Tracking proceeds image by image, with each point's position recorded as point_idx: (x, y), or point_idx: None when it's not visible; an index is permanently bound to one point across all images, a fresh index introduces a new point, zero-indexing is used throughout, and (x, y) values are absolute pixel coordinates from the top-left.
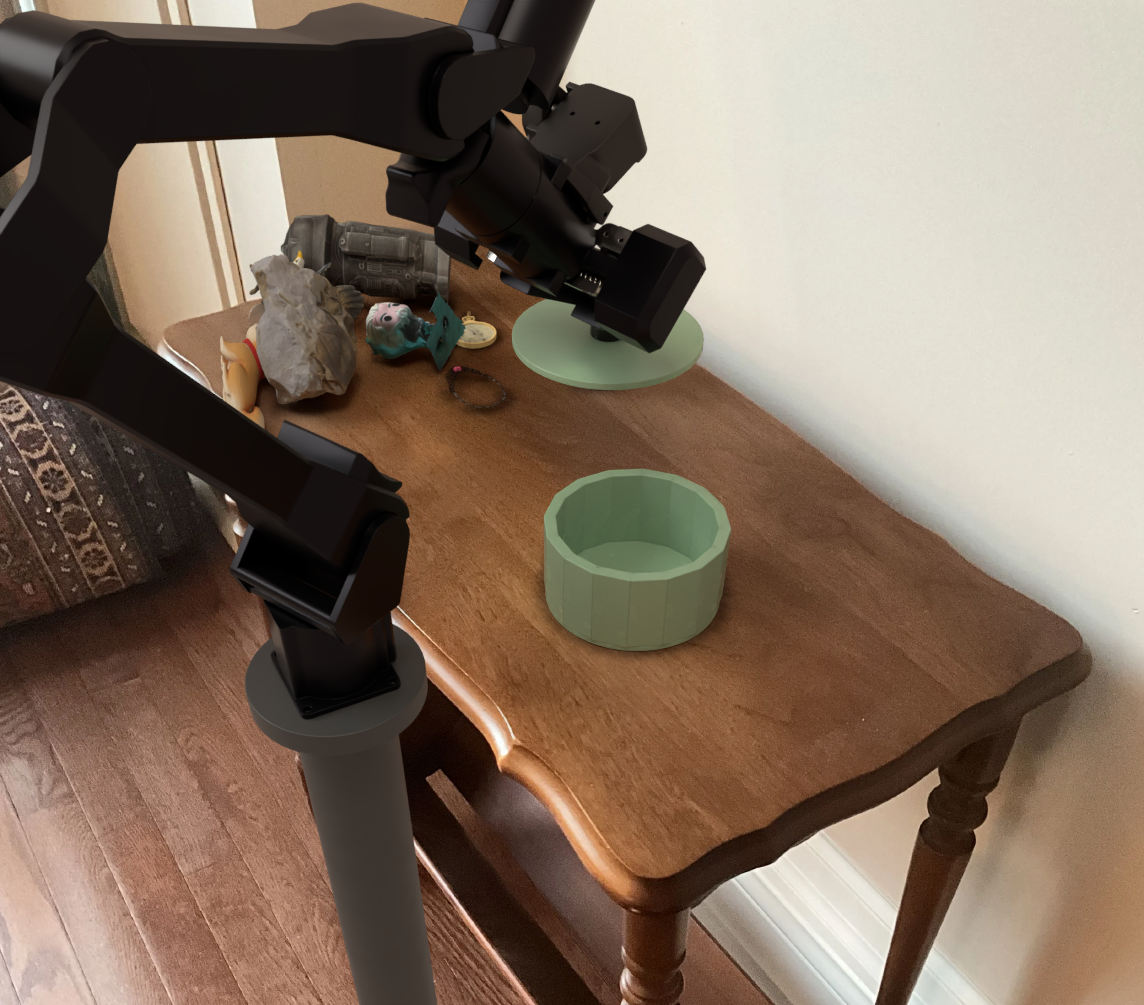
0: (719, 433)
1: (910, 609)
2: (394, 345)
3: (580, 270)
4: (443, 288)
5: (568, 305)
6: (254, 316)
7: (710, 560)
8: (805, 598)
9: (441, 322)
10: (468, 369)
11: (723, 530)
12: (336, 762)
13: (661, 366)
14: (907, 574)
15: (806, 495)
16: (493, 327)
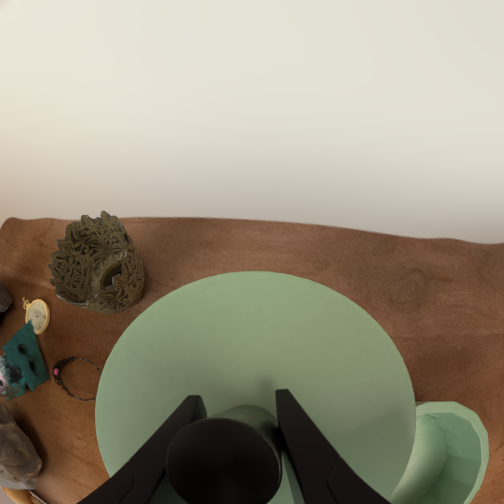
0: (264, 263)
1: (493, 300)
2: (19, 391)
3: (169, 500)
4: (1, 308)
5: (129, 409)
6: None
7: (488, 448)
8: (464, 355)
9: (20, 355)
10: (60, 364)
11: (474, 420)
12: None
13: (393, 426)
14: (471, 277)
15: (377, 268)
16: (41, 300)
